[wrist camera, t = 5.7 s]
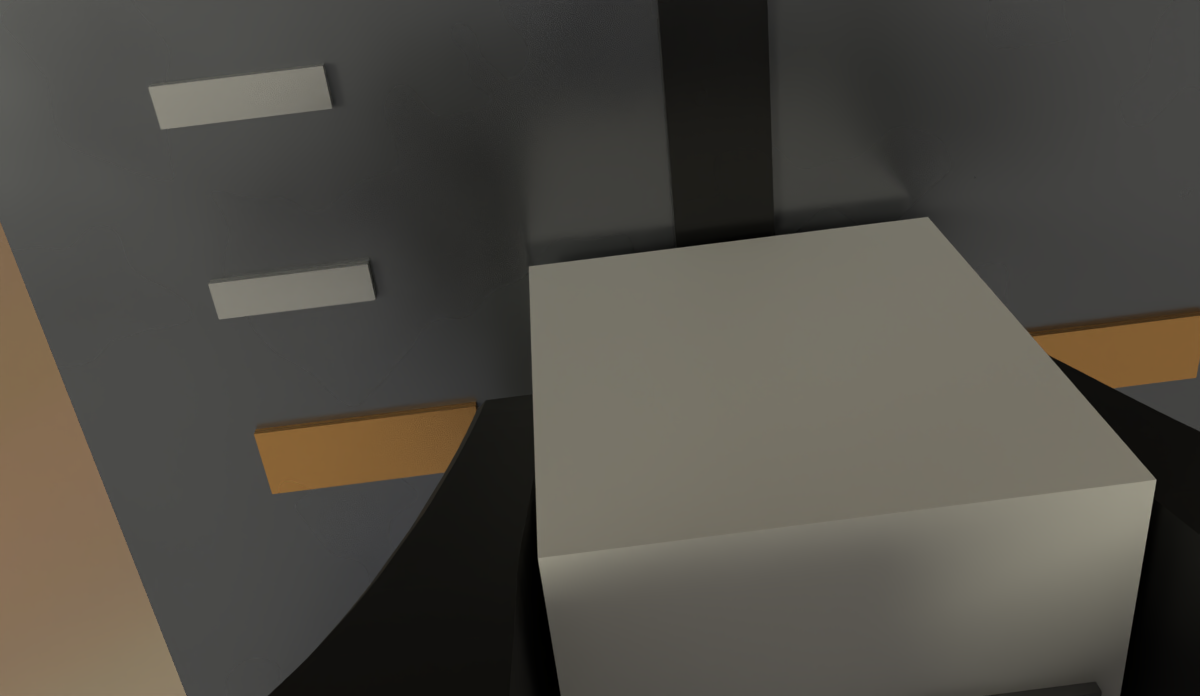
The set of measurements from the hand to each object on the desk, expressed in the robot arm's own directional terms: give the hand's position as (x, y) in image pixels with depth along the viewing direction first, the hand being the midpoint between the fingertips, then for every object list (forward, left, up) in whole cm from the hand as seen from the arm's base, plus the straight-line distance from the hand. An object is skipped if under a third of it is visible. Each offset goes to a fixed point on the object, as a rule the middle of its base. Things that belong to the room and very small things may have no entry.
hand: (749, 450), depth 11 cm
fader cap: (0, 0, -1) cm, 1 cm away
